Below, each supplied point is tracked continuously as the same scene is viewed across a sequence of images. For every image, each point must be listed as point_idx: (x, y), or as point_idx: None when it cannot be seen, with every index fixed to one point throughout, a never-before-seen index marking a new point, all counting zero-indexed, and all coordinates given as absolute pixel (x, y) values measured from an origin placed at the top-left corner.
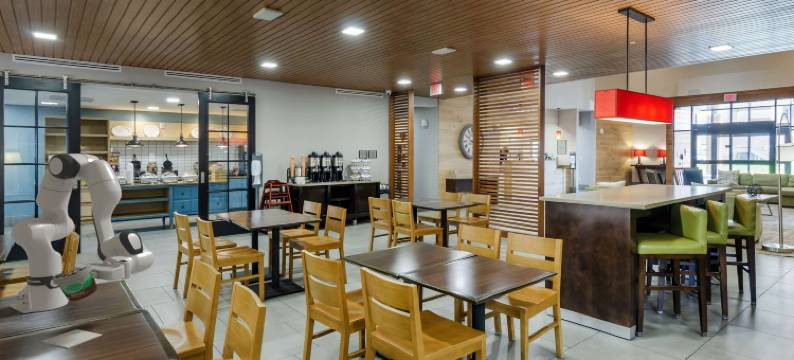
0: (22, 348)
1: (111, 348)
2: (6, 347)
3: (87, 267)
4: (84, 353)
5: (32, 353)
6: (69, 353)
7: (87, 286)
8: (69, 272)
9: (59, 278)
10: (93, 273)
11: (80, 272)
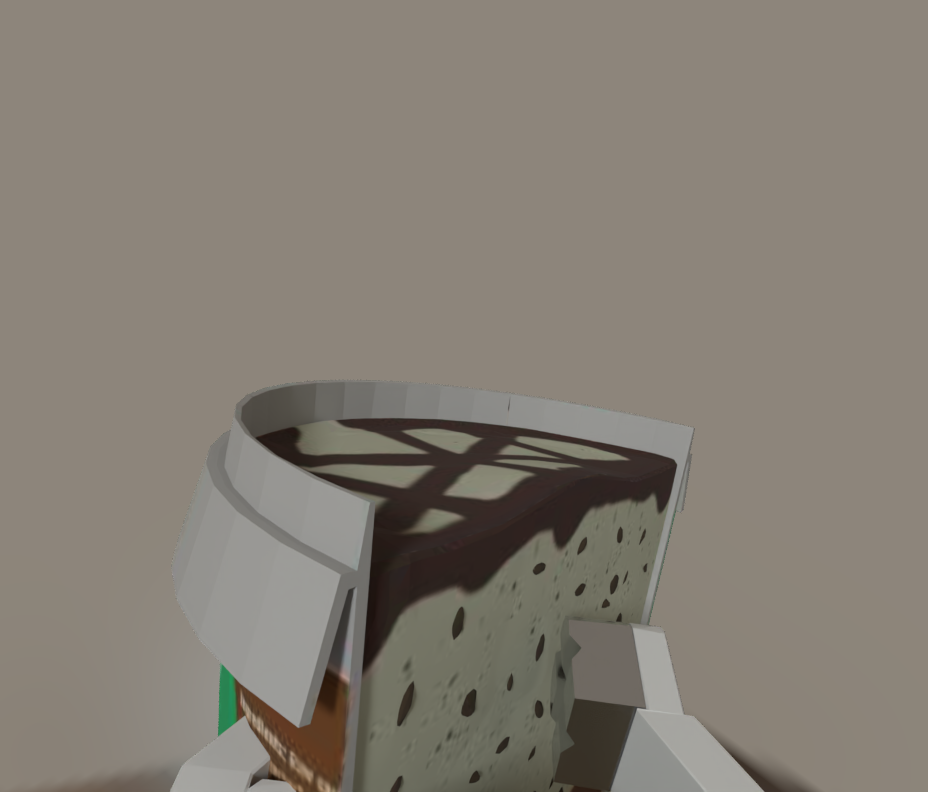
0: None
1: None
2: (719, 741)
3: (233, 455)
4: (61, 787)
5: None
6: None
7: None
8: (586, 469)
9: (598, 454)
10: (198, 771)
11: (263, 408)
